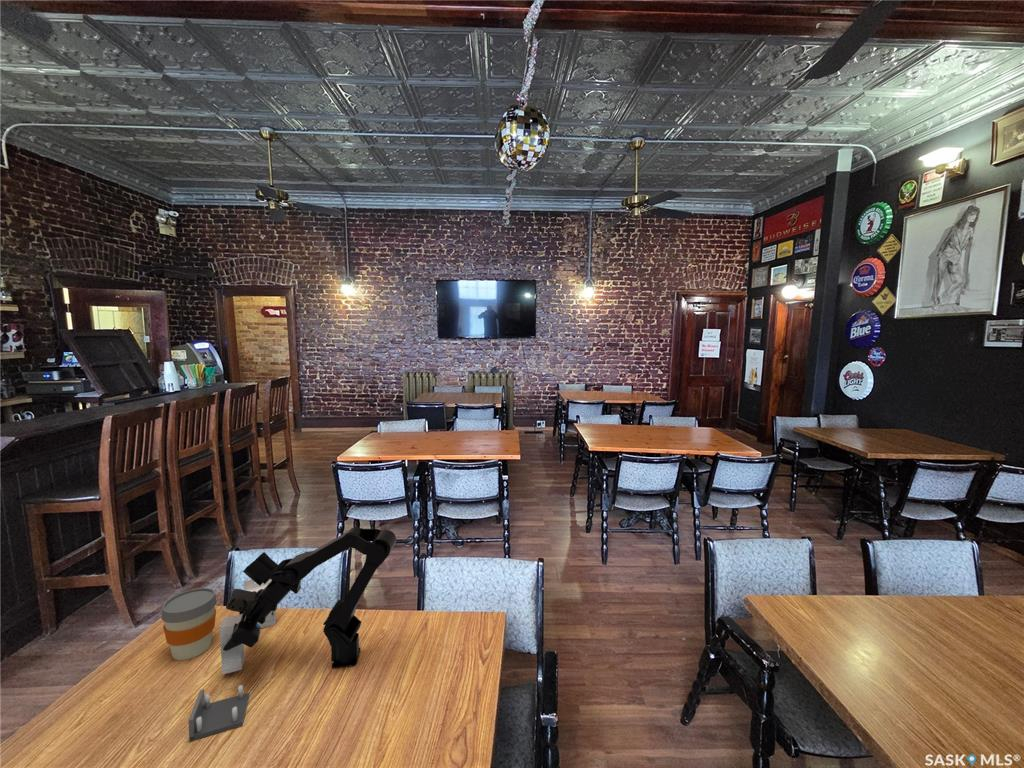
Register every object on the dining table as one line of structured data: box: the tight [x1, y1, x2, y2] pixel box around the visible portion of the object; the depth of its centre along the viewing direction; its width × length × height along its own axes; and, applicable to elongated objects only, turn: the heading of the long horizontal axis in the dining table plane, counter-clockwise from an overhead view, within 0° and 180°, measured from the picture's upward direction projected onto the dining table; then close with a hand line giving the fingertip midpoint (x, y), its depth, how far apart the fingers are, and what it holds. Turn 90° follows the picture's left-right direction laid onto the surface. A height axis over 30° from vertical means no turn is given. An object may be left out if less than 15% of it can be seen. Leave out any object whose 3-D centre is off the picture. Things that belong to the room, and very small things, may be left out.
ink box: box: [243, 578, 277, 630], centre depth 130 cm, size 8×5×15 cm, turn 123°
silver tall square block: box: [219, 614, 246, 675], centre depth 111 cm, size 4×4×13 cm
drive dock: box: [187, 684, 250, 742], centre depth 98 cm, size 10×9×5 cm
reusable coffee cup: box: [161, 587, 218, 661], centre depth 120 cm, size 13×13×15 cm
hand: (226, 644), depth 111 cm, fingers closed on silver tall square block, 4 cm apart
